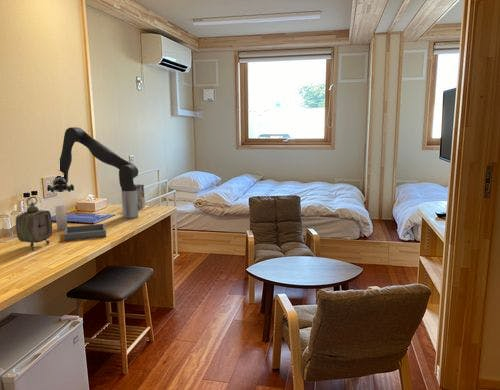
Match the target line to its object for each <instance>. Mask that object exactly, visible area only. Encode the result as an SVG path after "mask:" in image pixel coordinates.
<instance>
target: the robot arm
mask: <svg viewBox="0 0 500 390" xmlns="http://www.w3.org/2000/svg"><path fill="white" fill-rule="evenodd" d="M75 143H79V144H81V145H82V146H84V147H85V148H87V149H88V151H89V152H90V154H91V155H92V156H93V157H95V158H96V159H97V160H98V161H100V162H102V163H104V164H105V165H106V164H107V165H109V166H111V167H114V168H116V169H117V170H118V178H119V179H118V180H119V186H120V189H121V205H122V206H121V207H122V209H121V210H122V218H123V219H134V218H139V210H138V202H137V186H136V185H137V184H135V183H134V178H136V177H138V175H139V169H138V167H137V166H136V165H135V164H134V163H132V162H130V161H128V160H126V159H124V158H122V157H121V155H118V154H117V153H115V152H114V151H113V150H111V149H110V148H108V147H107V146H105V145H104V144H103V143H101V142H100V141H98V140H96V138H93V137H92V136H91V135H89V134H88V133H87V132H86V131H85V130H84V129H82V128H80V127H77V126H76V127H75V126H73V127H72V126H71V127H68V128H66V130H65V132H64V136H63V143H62V149H61V152H60V157H59V160H60V171H61V173H62V175H64V177H61V176H57V177H56V178H55V180H54V182H53V184H52V185H51V184H48V185H47V188H46V190H47V191H46V192H50V193H54V192H57V193H63V192H65V191H66V192H68V193H70V192H72V191H75V186H74V185H73V184H70V185H68V181H69V170H70V167H71V165H72V160H73V157H72V156H73V155H72V152H73V151H72V149H73V146H74V144H75ZM60 171H59V172H60Z"/></svg>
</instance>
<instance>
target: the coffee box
mask: <svg viewBox="0 0 500 390" xmlns="http://www.w3.org/2000/svg"><path fill="white" fill-rule="evenodd" d="M135 185H136V186H137V202H138V211H141V210H143V209H144V208H145V207H146V205H145V204H146V203H145V200H146V199H145V185H144V184H135Z"/></svg>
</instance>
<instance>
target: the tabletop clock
mask: <svg viewBox="0 0 500 390" xmlns="http://www.w3.org/2000/svg"><path fill="white" fill-rule="evenodd" d="M31 199H35V203H34V202H31V203H30V204H29V203H28V202H29V200H31ZM37 203H38V198H37V197H36V196H30V197H28V198H27V199H26V205H27V206H29V207H27V209H26V211H23V212H22V213H20V214H18V215H17V216H16V217H15V229H16V231H15V232H16V236H17V239H18V240H19V241H20V242H23V243H30V245H29V246H30V247H31V248H30V251H32V252H33V251H35V247H34V246H35V245H34V243H35V244H38V243H41V242H44V241H45V243H46V244H47V245H49V244H50V242H51V241H50V240H49V238H51V237H52V235H53V222H52V221H53V220H52V215H51V214H52V213H51V212H50V210H41V209H39V207H37V206H36V204H37ZM47 239H48V240H47Z"/></svg>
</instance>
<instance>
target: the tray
mask: <svg viewBox="0 0 500 390" xmlns="http://www.w3.org/2000/svg"><path fill="white" fill-rule="evenodd" d="M106 237H107V229H106V226H105V223H96V224H85V225H74V226H71V225H70V226H67V227H65V230H64V241H65V242H69V241H70V240H71V241H79V239H81V240H87V239H88V240H89V239H90V238H91V239H98V238H99V239H100V238H101V239H102V238H106Z"/></svg>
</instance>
